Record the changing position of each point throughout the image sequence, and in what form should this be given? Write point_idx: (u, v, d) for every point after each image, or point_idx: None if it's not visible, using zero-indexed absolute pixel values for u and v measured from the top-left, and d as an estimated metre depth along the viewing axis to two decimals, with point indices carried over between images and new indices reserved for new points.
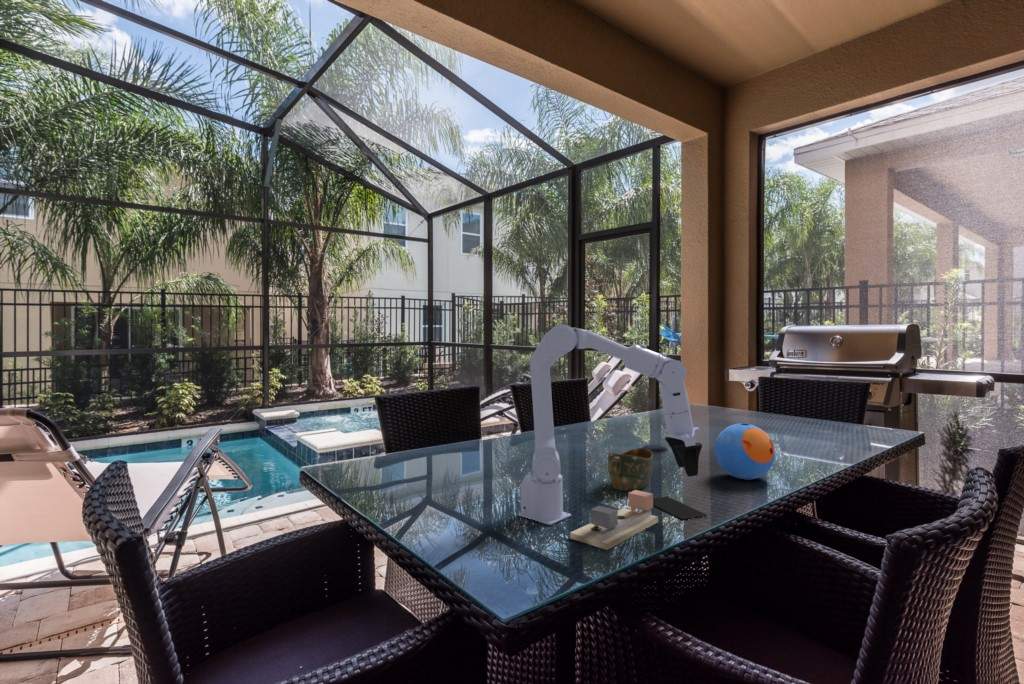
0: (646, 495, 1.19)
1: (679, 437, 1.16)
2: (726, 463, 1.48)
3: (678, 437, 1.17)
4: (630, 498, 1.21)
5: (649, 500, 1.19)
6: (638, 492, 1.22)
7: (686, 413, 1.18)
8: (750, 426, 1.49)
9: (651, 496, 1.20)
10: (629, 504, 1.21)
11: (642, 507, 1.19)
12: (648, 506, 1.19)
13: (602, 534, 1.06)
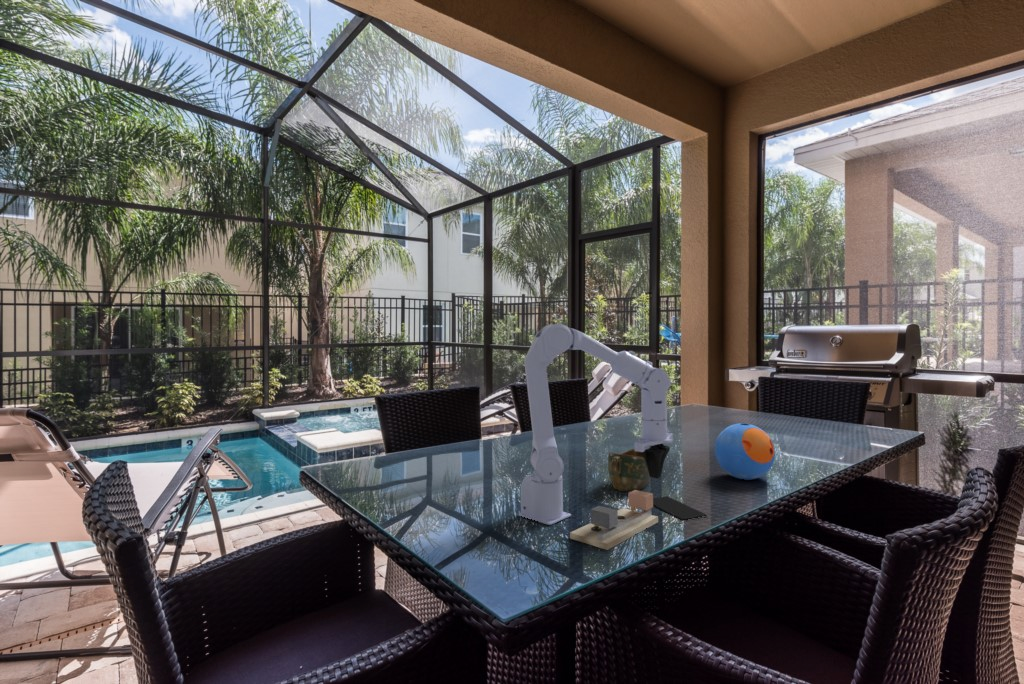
0: (646, 495, 1.19)
1: None
2: (726, 463, 1.48)
3: None
4: (630, 498, 1.21)
5: (649, 500, 1.19)
6: (638, 492, 1.22)
7: (654, 422, 1.23)
8: (750, 426, 1.49)
9: (651, 496, 1.20)
10: (629, 504, 1.21)
11: (642, 507, 1.19)
12: (648, 506, 1.19)
13: (602, 534, 1.06)
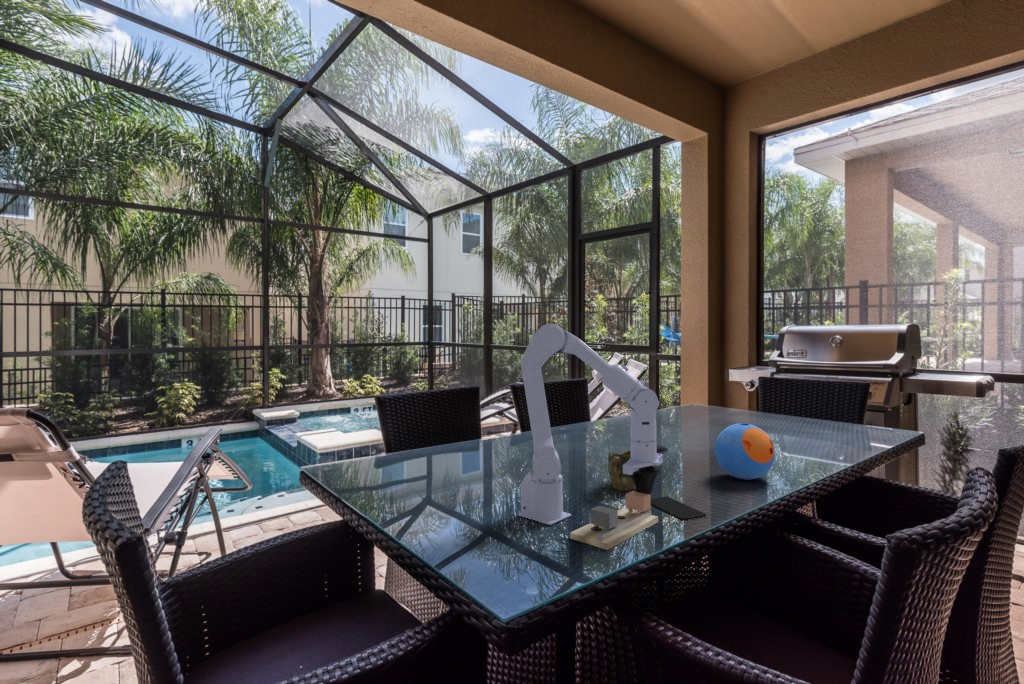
0: (643, 496, 1.19)
1: None
2: (726, 463, 1.48)
3: None
4: (627, 499, 1.20)
5: (646, 501, 1.19)
6: (635, 493, 1.21)
7: (643, 444, 1.19)
8: (750, 426, 1.49)
9: (648, 497, 1.19)
10: (626, 505, 1.21)
11: (639, 508, 1.18)
12: (645, 507, 1.18)
13: (602, 534, 1.06)
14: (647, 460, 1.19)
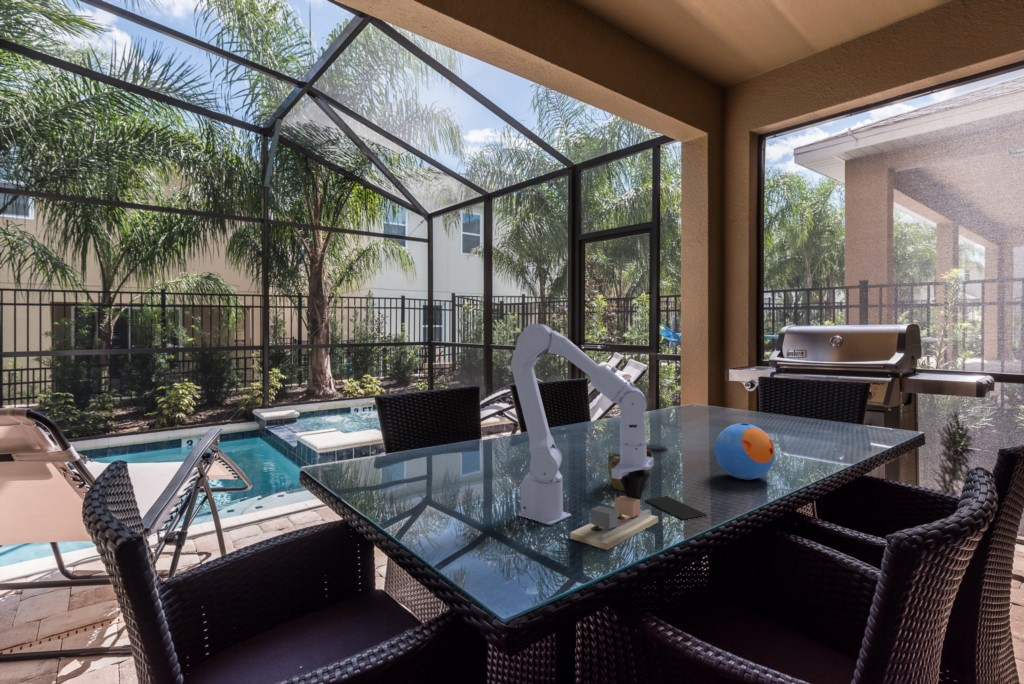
0: (633, 501, 1.15)
1: None
2: (726, 463, 1.48)
3: None
4: (616, 504, 1.17)
5: (636, 506, 1.15)
6: (625, 498, 1.18)
7: (632, 447, 1.16)
8: (750, 426, 1.49)
9: (638, 502, 1.16)
10: None
11: (629, 514, 1.15)
12: (635, 513, 1.15)
13: (602, 534, 1.06)
14: (637, 464, 1.16)
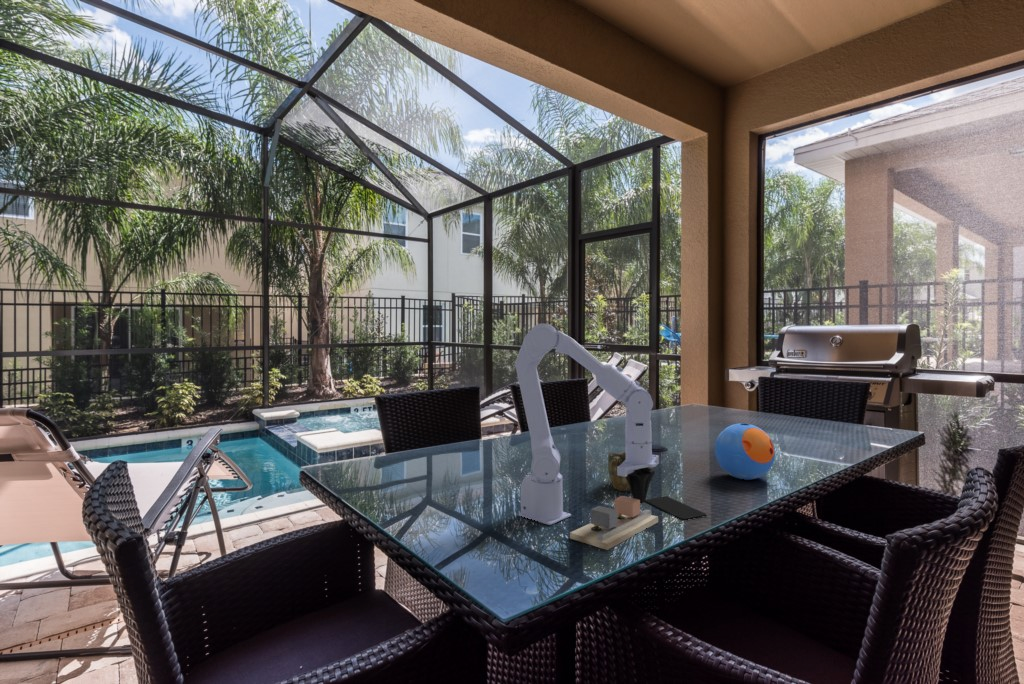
0: (633, 501, 1.15)
1: None
2: (726, 463, 1.48)
3: None
4: (616, 504, 1.17)
5: (636, 506, 1.15)
6: (625, 498, 1.18)
7: (638, 445, 1.17)
8: (750, 426, 1.49)
9: (638, 502, 1.16)
10: None
11: (628, 514, 1.15)
12: (635, 513, 1.15)
13: (602, 534, 1.06)
14: (642, 462, 1.17)
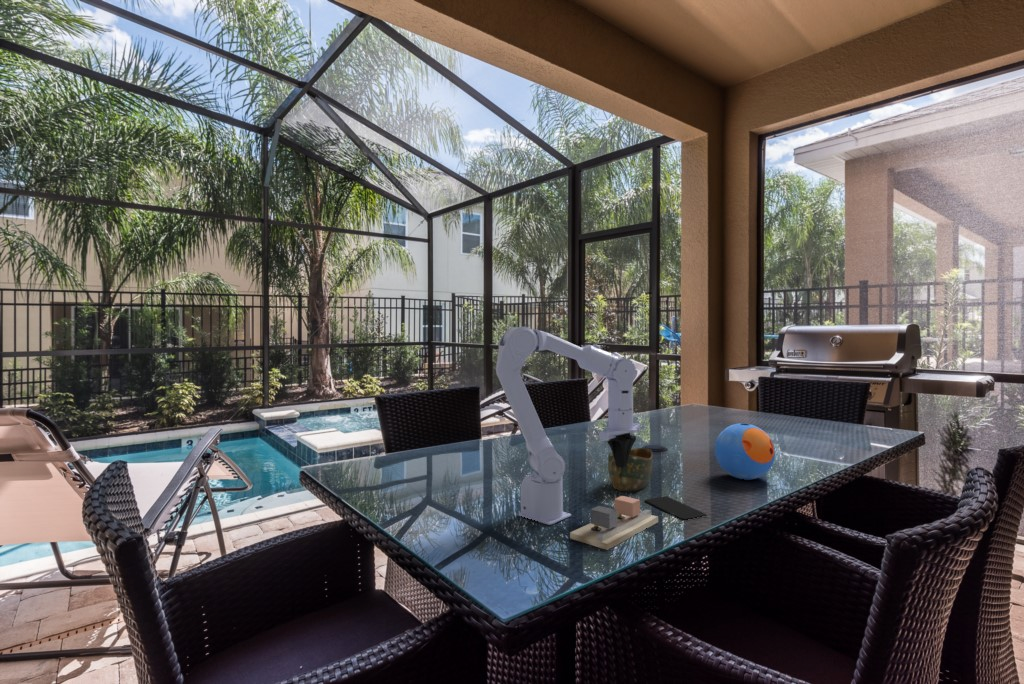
0: (633, 501, 1.15)
1: None
2: (726, 463, 1.48)
3: None
4: (616, 504, 1.17)
5: (636, 506, 1.15)
6: (625, 498, 1.18)
7: (620, 412, 1.24)
8: (750, 426, 1.49)
9: (638, 502, 1.16)
10: None
11: (628, 514, 1.15)
12: (635, 513, 1.15)
13: (602, 534, 1.06)
14: (623, 427, 1.24)
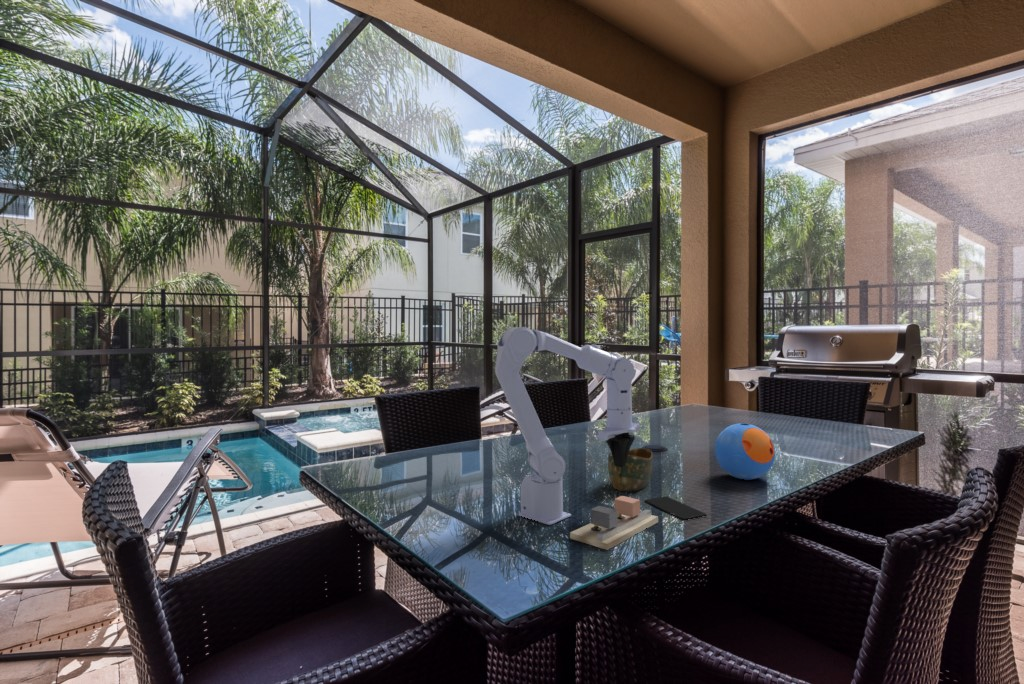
0: (633, 501, 1.15)
1: None
2: (726, 463, 1.48)
3: None
4: (616, 504, 1.17)
5: (636, 506, 1.15)
6: (625, 498, 1.18)
7: (618, 411, 1.24)
8: (750, 426, 1.49)
9: (638, 502, 1.16)
10: None
11: (628, 514, 1.15)
12: (635, 513, 1.15)
13: (602, 534, 1.06)
14: (622, 427, 1.24)
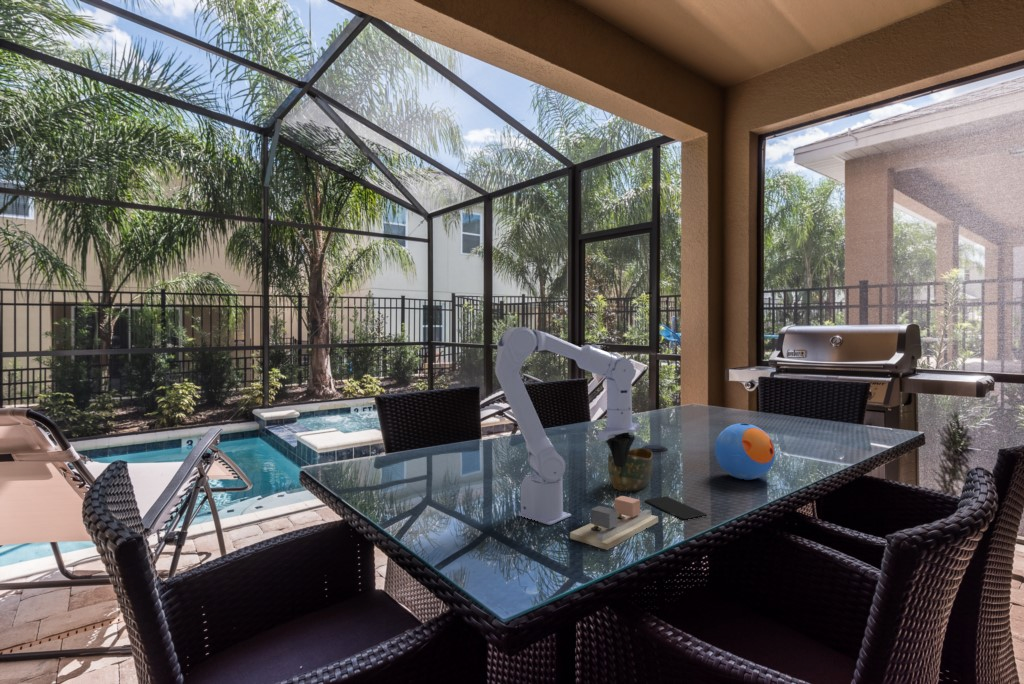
0: (633, 501, 1.15)
1: None
2: (726, 463, 1.48)
3: None
4: (616, 504, 1.17)
5: (636, 506, 1.15)
6: (625, 498, 1.18)
7: (618, 411, 1.24)
8: (750, 426, 1.49)
9: (638, 502, 1.16)
10: None
11: (628, 514, 1.15)
12: (635, 513, 1.15)
13: (602, 534, 1.06)
14: (622, 427, 1.24)
